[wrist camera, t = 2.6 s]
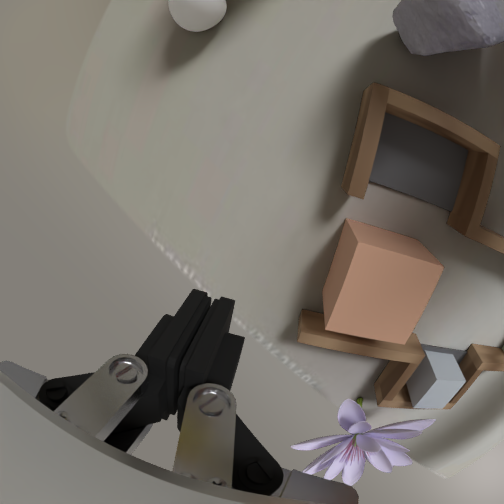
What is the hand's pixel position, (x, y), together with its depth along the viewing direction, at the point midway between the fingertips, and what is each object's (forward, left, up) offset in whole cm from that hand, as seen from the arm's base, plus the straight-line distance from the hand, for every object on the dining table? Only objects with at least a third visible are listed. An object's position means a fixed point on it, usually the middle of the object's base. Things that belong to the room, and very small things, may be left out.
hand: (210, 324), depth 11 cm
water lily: (-15, +15, -11) cm, 23 cm away
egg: (+7, -16, -11) cm, 21 cm away
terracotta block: (-9, 0, -11) cm, 14 cm away
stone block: (-11, -20, -11) cm, 25 cm away
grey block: (-20, +8, -10) cm, 24 cm away
